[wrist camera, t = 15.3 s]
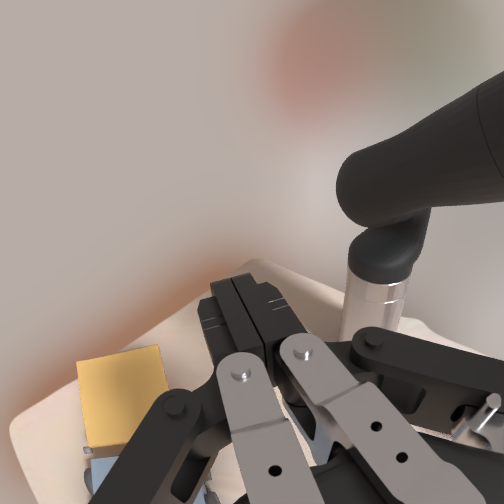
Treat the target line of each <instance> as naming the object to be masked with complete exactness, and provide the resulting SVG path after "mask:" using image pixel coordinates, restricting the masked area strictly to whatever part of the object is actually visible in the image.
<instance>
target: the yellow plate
mask: <svg viewBox="0 0 504 504" xmlns="http://www.w3.org/2000/svg"><path fill="white" fill-rule="evenodd" d="M77 372H78V382H79V390H80V398H81V405H82V412H83V418H84V424H85V430H86V435H87V440H88V445H89V446H88V447H83V450H84V453H85V454H88V453H93V449H92V448H98V447H106V446H113V445H120V444H127V443H128V441H129V440H130V438H131V437H132V435H133V434H134V432H135V431H136V429H137V428H138V426H139V424H140V423H141V421H142V420H143V418H144V417H145V415H146V414H147V412H148V411H149V409H150V407H151V406H152V404H153V403H154V401H155V400H156V399H157V398H158V397H159V396H160V395H161V394H162V393H164V392H166V391H169V387H168V383H167V379H166V375H165V371H164V367H163V362H162V358H161V354H160V349H159V346H158V345H157V344H156V345H152V346H147V347H143V348H139V349H135V350H130V351H126V352H121V353H117V354H112V355H108V356H103V357H98V358H94V359H89V360H84V361H79V362H77Z"/></svg>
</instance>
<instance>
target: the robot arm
mask: <svg viewBox="0 0 504 504" xmlns="http://www.w3.org/2000/svg"><path fill="white" fill-rule="evenodd" d="M336 195H337V199H338V202H339V205H340V207H341V208H342V210H343V212H344V213H345V214H346V216H347V217H348V218H349V219H351V220H352V221H353V222H355V223H356V224H358V225H361V226H363V227H368V229H366V230H365V231H364V232H362V233H361V234H360V235H358V236H357V237H356V238H355V239H354V240H353V241H352V243H351V245H350V247H349V253H348V266H347V277H346V288H345V296H344V305H343V314H342V321H341V329H340V336H339V342H323V341H322V340H321V339H320V338H319V337H317V336H315V335H313V334H309V333H308V332H307V331H306V329H305V328H304V327H303V325H302V324H301V322H300V321H299V319H298V318H297V316H296V315H295V314H294V312H293V311H292V309H291V308H290V306H288V303H287V302H286V300H285V299H283V296H282V295H281V293H280V292H279V290H278V289H277V288H276V287H274V286H273V285H271V284H269V283H268V282H264V283H261V284H257V283H256V282H255V280H254V279H253V277H252V275H251V274H250V273H246V274H242V275H239V276H235V277H231V278H228V279H224V280H220V281H216V282H212V283H210V287H211V292H212V296H213V297H210V298H206V299H202V300H200V303H199V306H198V310H197V311H198V315H199V319H200V322H201V326H202V330H203V334H204V337H205V341H206V344H207V347H208V350H209V353H210V356H211V359H212V362H213V365H214V371H213V374H212V376H211V378H210V379H209V380H208V381H207V382H206V383H205V384H204V385H202V386H201V387H199V388H198V389H196V390H194V391H192V392H191V391H188V390H185V389H172V390H169V391H166V392H164V393H162V394H161V395H160V396H159V397H158V398H157V399H156V400H155V401H154V403H153V404H152V406H151V407H150V409H149V411H148V412H147V414H146V415H145V417H144V418H143V420H142V421H141V423H140V424H139V426H138V428H137V429H136V431H135V432H134V434H133V435H132V437H131V438H130V440H129V441H128V443H127V445H126V446H125V448H124V449H123V451H122V452H121V454H120V455H119V457H118V458H117V460H116V462H115V463H114V465H113V466H112V468H111V469H110V471H109V472H108V474H107V476H106V477H105V479H104V480H103V482H102V483H101V485H100V486H99V488H98V489H97V491H96V493H95V494H94V496H93V497H92V499H91V500H90V502H89V503H88V504H193V503H194V501H195V499H196V497H197V495H198V493H199V491H200V489H201V487H202V485H203V483H204V481H205V479H206V477H207V475H208V473H209V471H210V469H211V467H212V465H213V463H214V461H215V459H216V457H217V455H218V452H219V450H221V449H222V448H224V447H225V446H227V445H228V444H230V443H231V442H233V446H234V450H235V453H236V457H237V460H238V464H239V468H240V471H241V475H242V478H243V481H244V485H245V488H246V492H247V493H246V494H244V495H243V496H242V497H240V498H239V499H238V500H237V501H236V502H235V503H234V504H504V361H502V360H498V359H494V358H490V357H486V356H482V355H478V354H474V353H471V352H467V351H463V350H459V349H455V348H452V347H448V346H444V345H440V344H437V343H433V342H429V341H426V340H422V339H418V338H415V337H411V336H408V335H404V334H401V333H397V332H396V331H397V328H398V324H399V320H400V317H401V313H402V309H403V305H404V301H405V297H406V293H407V289H408V284H409V280H410V276H411V271H412V267H413V264H414V262H415V261H416V260H417V259H418V257H419V255H420V253H421V250H422V247H423V243H424V239H425V235H426V231H427V226H428V222H429V217H430V213H431V207H438V206H457V205H472V204H484V203H494V202H503V201H504V71H503V72H501V73H499V74H497V75H496V76H494V77H492V78H491V79H488V80H487V81H485V82H483V83H481V84H480V85H478V86H477V87H475V88H474V89H472V90H470V91H469V92H467V93H466V94H464V95H463V96H461V97H459V98H458V99H456V100H454V101H452V102H451V103H449V104H447V105H445V106H444V107H442V108H440V109H439V110H437V111H435V112H434V113H432V114H430V115H429V116H427V117H426V118H424V119H423V120H421V121H419V122H418V123H416V124H415V125H413V126H412V127H410V128H409V129H407V130H405V131H404V132H402V133H400V134H398V135H396V136H394V137H392V138H389V139H387V140H384V141H382V142H379V143H377V144H374V145H372V146H370V147H367V148H365V149H362V150H359V151H357V152H354V153H353V154H351V155H350V156H349V157H348V158H347V159H346V160H345V161H344V163H343V164H342V166H341V168H340V170H339V173H338V176H337V181H336ZM276 386H278V388H279V390H280V392H281V394H282V403H283V405H284V407H285V409H286V410H287V412H288V414H289V415H290V417H291V418H292V420H293V421H294V423H295V425H296V426H297V428H298V429H299V431H300V432H301V434H302V435H303V437H304V439H305V440H306V442H307V443H308V445H309V447H310V449H311V453H312V456H313V459H314V461H315V463H316V464H317V466H312V467H309V465H308V463H307V460H306V458H305V456H304V453H303V451H302V448H301V446H300V443H299V441H298V439H297V436H296V434H295V431H294V429H293V427H292V424H291V422H290V421H289V419H288V418H285V416H284V414H283V412H282V410H281V407H280V404H279V402H278V399H277V397H276V394H275V392H274V389H273V387H276ZM410 424H412V425H415V426H419V427H423V428H426V429H430V430H434V431H438V432H442V433H446V434H450V435H452V437H453V440H452V441H449V440H446V439H442V438H439V437H435V436H432V435H429V434H425V433H422V432H417V431H415V429H414V428H413V427H412V426H411V425H410Z"/></svg>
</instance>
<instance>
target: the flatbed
mask: <svg viewBox="0 0 504 504" xmlns="http://www.w3.org/2000/svg"><path fill="white" fill-rule="evenodd" d="M118 457H119V456H114V457H106V458H97V459H91V468H87V469H86V470H85V472H84V480H85V484H86V487H87V489H88V491H89V492H90V494H91V495H92V496H94V494H95V493H96V491H97V489H98V488H99V486H100V485H101V483H102V482H103V480H104V479H105V477H106V476H107V474H108V472H109V471H110V469H111V468H112V466H113V465H114V463H115V462H116V460H117V458H118ZM208 480H212V478H211V474H210V471H209V473H208V475H207V477H206V479H205V481H208ZM193 504H220V501H219V499H218V497H217V495H216V493H215V492H211V493H207V491H206V487H205V484H204V483H203V485H202V487H201V489H200V491H199V493H198V495H197V497H196V499H195V501H194V503H193Z"/></svg>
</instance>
